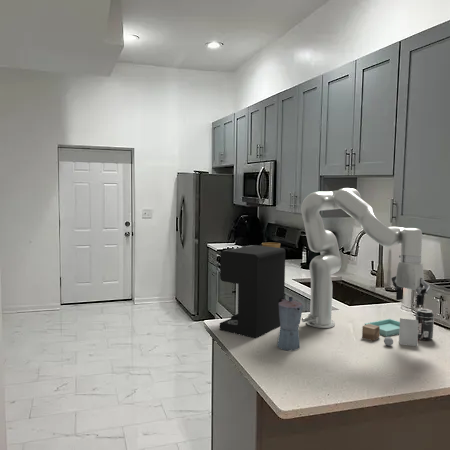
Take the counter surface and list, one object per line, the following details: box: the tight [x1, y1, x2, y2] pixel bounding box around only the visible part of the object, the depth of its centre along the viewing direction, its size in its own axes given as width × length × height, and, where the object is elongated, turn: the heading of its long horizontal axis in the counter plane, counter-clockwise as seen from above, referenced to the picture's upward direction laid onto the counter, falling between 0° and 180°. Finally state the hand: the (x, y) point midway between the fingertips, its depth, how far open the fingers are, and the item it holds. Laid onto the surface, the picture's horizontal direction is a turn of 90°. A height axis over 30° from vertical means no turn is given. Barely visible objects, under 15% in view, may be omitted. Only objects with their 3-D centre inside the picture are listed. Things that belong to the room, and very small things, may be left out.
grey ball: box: [383, 336, 394, 347], centre depth 181 cm, size 4×4×4 cm
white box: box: [398, 317, 419, 347], centre depth 184 cm, size 4×7×10 cm, turn 71°
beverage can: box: [415, 308, 435, 341], centre depth 190 cm, size 7×7×12 cm
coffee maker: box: [219, 244, 287, 340], centre depth 203 cm, size 28×20×35 cm
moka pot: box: [277, 296, 304, 352], centre depth 178 cm, size 10×15×20 cm, turn 27°
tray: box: [364, 318, 400, 338], centre depth 201 cm, size 16×12×2 cm
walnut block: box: [361, 324, 380, 342], centre depth 190 cm, size 5×5×5 cm
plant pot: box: [261, 242, 281, 248], centre depth 369 cm, size 15×15×16 cm
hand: (409, 302), depth 183 cm, fingers open, 9 cm apart
